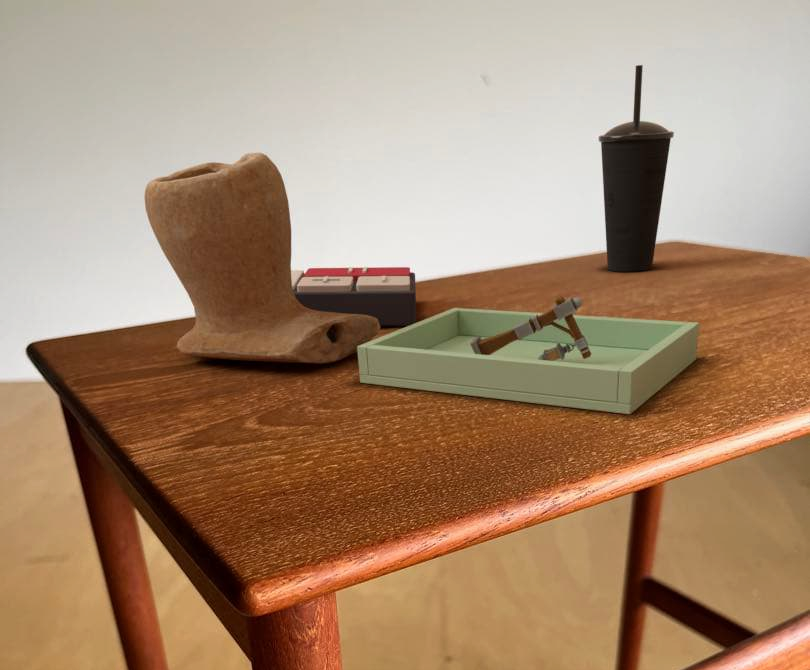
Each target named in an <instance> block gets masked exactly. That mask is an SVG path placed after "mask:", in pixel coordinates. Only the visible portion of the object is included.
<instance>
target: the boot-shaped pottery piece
mask: <svg viewBox="0 0 810 670" xmlns="http://www.w3.org/2000/svg"><path fill="white" fill-rule="evenodd" d="M144 207H145V213H146V215H147V219H148V222H149V224H150V227H151V229H152V231H153V234H154V237H155V238H156V240H157V243H158V244H159V247H160V249H161V250H162V253H163V254H164V256H165V258H166V260H167V261H168V263H169V264H170V266H171V268H172V270H173V271H174V273H175V274H176V276H177V278H178V280H179V281H180V283H181V285H182V286H183V288H184V290H185V292H186V294H187V295H188V297H189V299H190V302H191V303H192V305H193V309H194V315H195V324H194V326H193V327H192V328H191V329H190V330H189V331H188V332H187V333H185V334H184V335H182V336H181V338H179V340H178V341H177V342H176V348H177V350H179V352H181V353H183V354H185V355H187V356H191V357H192V356H193V357H198V358H199V357H200V358H206V359H207V358H208V359H217V360H219V359H221V360H230V361H231V360H232V361H248V362H267V363H268V362H270V363H287V364H288V363H289V364H314V365H315V364H317V365H318V364H329V363H330V364H331V363H334V362H338V361H340V360H342V359H346V358H347V357H349V356H350V355H352V354H355V353H356V352H358V351H357V346H359V345H362V344H364V343H367V342H370V341H372V340H373V338H375V337H376V336H377V334H378V333H379V332H380V330H381V326H380V325H379V322H378V319H376V318H375V317H372V316H368V315H361V314H345V313H335V312H324V311H316V310H311V309H309V308H306V307H304V306H303V305H302V304H301V303H299V302H298V300H297V299H296V298H295V295H294V293H293V288H292V279H291V270H292V225H291V224H292V223H291V213H290V212H291V211H290V204H289V198H288V194H287V190H286V186H285V182H284V179H283V176H282V174H281V172H280V171H279V169H278V167H277V165H276V164H275V163H274V162H273V161H272V160H271V158H270V157H269V156H268V155H267V154H264V153H262V152H250V153H245V154H244V155H242V156H241V157H240V159H239V160H237V161H235V162H233V163H232V164H231V163H223V162H216V161H215V162H214V161H213V162H206V163H205V162H204V163H201V164H197V165H193V166H191V167H187V168H183V169H181V170H178V171H175V172H172V173H171V174H169V175H167V176H160V177H157V178H154V179H151V180H150V181H148V183H147V184H146V186H145V189H144Z"/></svg>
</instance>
